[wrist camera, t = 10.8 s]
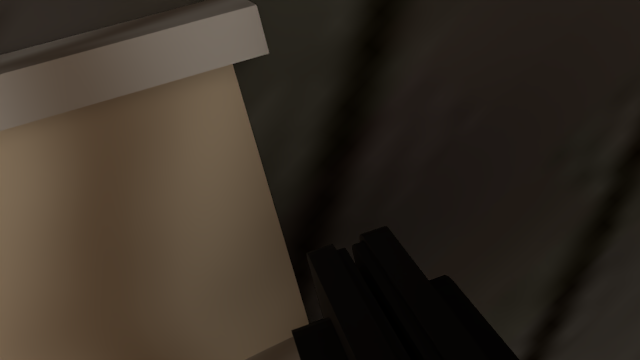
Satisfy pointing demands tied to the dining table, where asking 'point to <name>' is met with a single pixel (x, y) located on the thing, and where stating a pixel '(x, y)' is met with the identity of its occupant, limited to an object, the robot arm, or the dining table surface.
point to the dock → (140, 197)
